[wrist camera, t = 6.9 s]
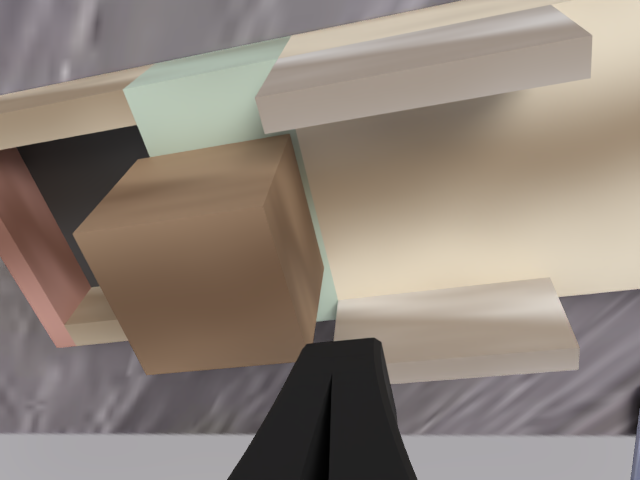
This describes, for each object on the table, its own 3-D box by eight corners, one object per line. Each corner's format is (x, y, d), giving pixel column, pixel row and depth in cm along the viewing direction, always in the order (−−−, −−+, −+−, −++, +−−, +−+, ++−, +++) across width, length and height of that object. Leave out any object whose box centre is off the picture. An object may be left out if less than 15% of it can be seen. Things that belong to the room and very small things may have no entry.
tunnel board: (777, 223, 18) (915, 343, 13) (87, 304, 22) (11, 413, 18) (853, -80, 13) (1102, -60, 9) (-26, 100, 18) (-165, 175, 13)
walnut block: (324, 267, 17) (310, 360, 14) (190, 284, 18) (146, 375, 15) (289, 133, 15) (262, 206, 12) (137, 159, 16) (72, 233, 12)
